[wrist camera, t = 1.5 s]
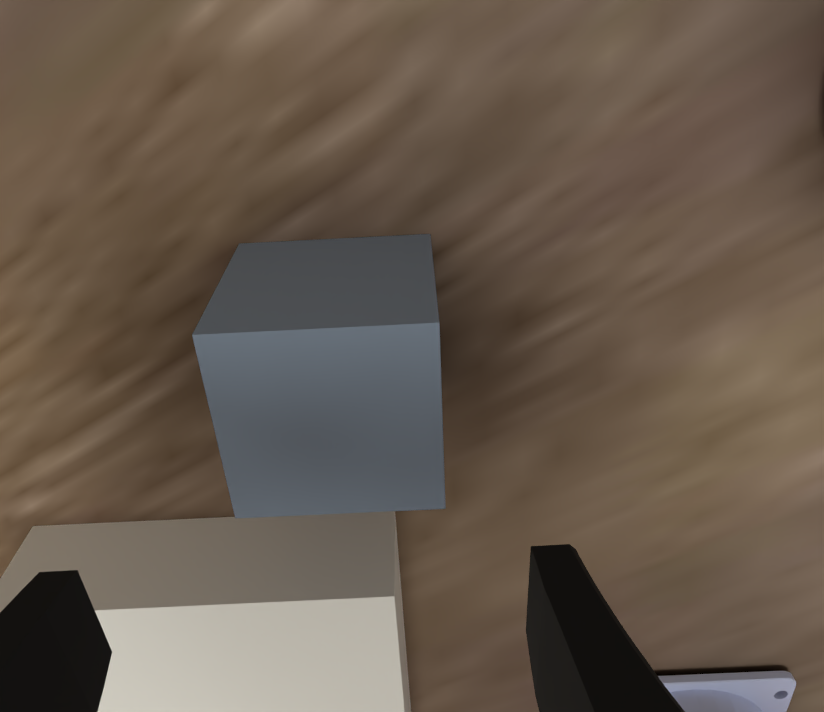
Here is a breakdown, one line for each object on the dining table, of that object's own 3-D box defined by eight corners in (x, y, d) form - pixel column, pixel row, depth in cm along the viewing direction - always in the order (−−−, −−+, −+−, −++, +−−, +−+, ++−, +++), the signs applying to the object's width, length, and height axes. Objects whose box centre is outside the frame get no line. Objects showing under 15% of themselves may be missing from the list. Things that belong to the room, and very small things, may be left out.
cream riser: (412, 716, 30) (413, 817, 26) (128, 728, 30) (93, 832, 27) (394, 500, 24) (394, 596, 20) (37, 517, 24) (-23, 615, 20)
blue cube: (436, 391, 21) (445, 508, 17) (268, 399, 21) (235, 518, 17) (430, 232, 19) (439, 322, 14) (239, 242, 19) (192, 334, 14)
